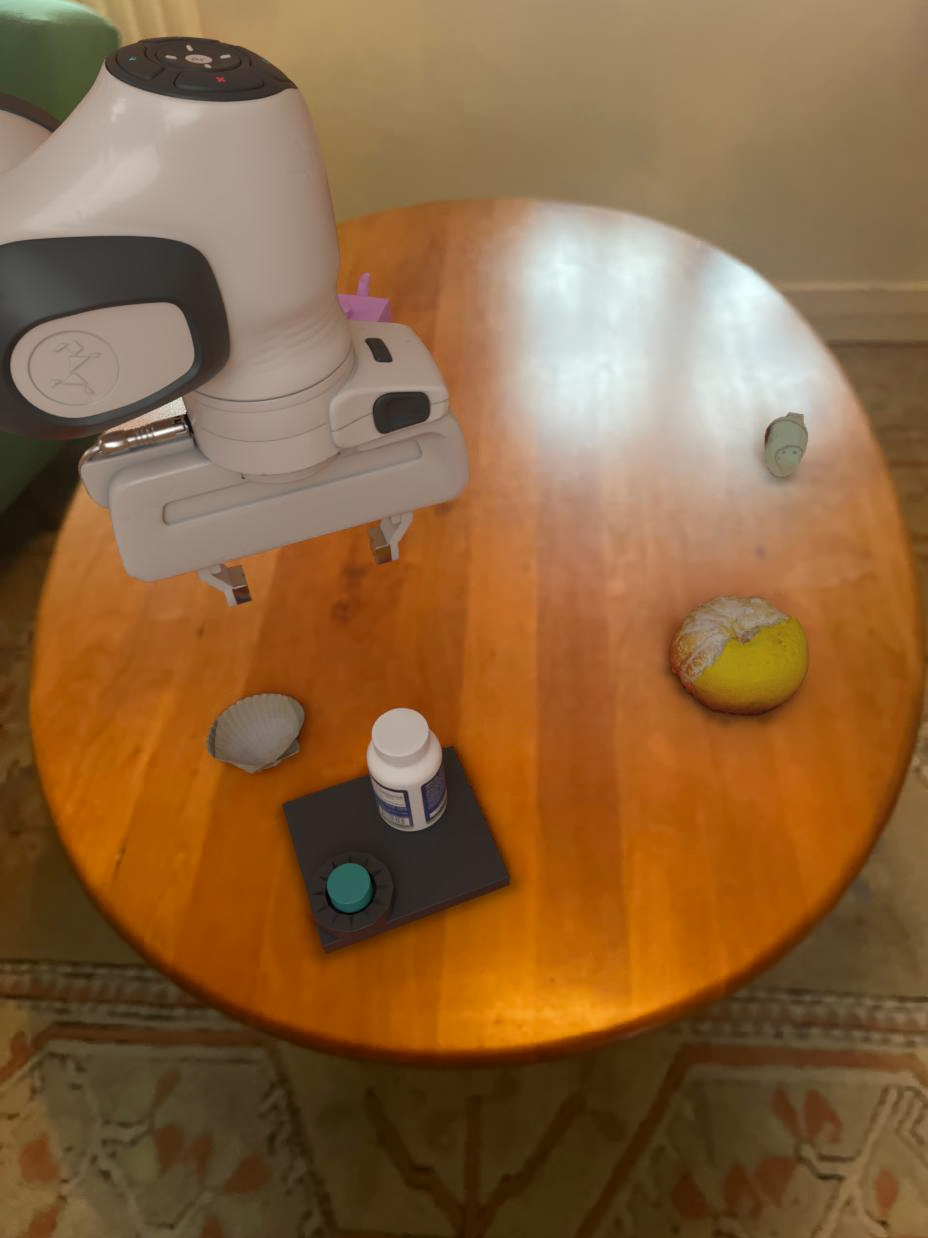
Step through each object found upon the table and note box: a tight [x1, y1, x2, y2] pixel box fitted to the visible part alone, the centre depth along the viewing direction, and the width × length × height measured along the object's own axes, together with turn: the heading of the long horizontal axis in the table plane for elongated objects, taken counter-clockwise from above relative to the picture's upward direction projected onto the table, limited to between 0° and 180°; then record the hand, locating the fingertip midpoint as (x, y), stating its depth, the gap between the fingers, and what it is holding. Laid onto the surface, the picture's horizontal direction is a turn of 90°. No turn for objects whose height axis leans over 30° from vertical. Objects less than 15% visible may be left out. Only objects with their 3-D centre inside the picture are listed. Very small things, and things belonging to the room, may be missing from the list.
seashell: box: [205, 692, 306, 774], centre depth 77 cm, size 8×3×8 cm
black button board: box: [281, 745, 511, 955], centre depth 71 cm, size 14×12×3 cm
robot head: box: [763, 411, 809, 478], centre depth 94 cm, size 8×4×7 cm, turn 164°
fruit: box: [669, 594, 810, 717], centre depth 79 cm, size 11×10×8 cm
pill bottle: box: [366, 707, 447, 831], centre depth 69 cm, size 5×5×10 cm
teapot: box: [337, 272, 393, 323], centre depth 106 cm, size 18×13×10 cm
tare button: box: [327, 863, 373, 913], centre depth 66 cm, size 3×3×2 cm
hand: (313, 576), depth 59 cm, fingers open, 8 cm apart
